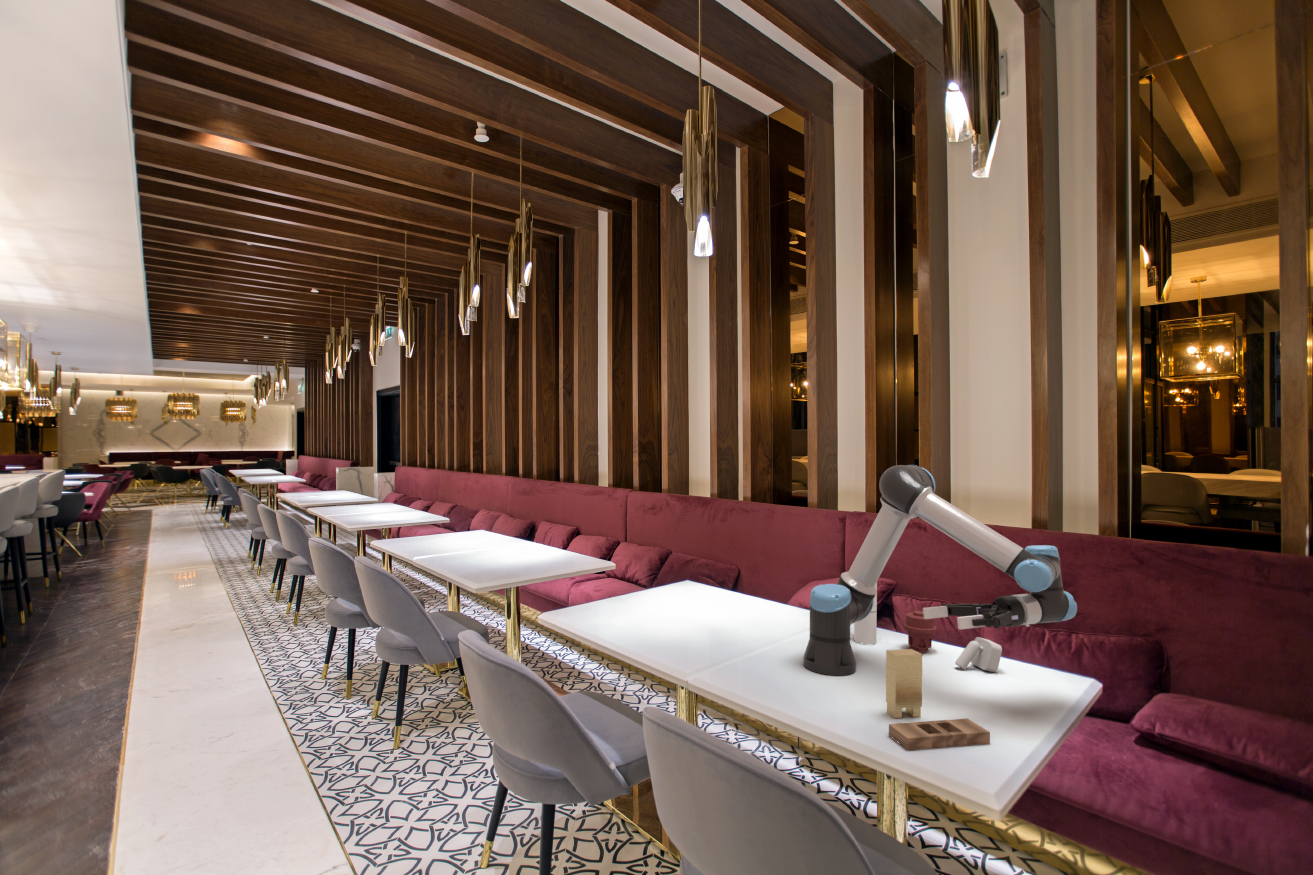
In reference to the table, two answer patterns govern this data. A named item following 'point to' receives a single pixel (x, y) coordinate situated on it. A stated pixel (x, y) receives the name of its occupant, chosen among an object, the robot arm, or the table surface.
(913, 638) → the mechanical component
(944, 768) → the table surface
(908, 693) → the tall wooden block
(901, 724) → the slotted wooden base
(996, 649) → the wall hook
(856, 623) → the cylindrical container
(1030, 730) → the table surface
